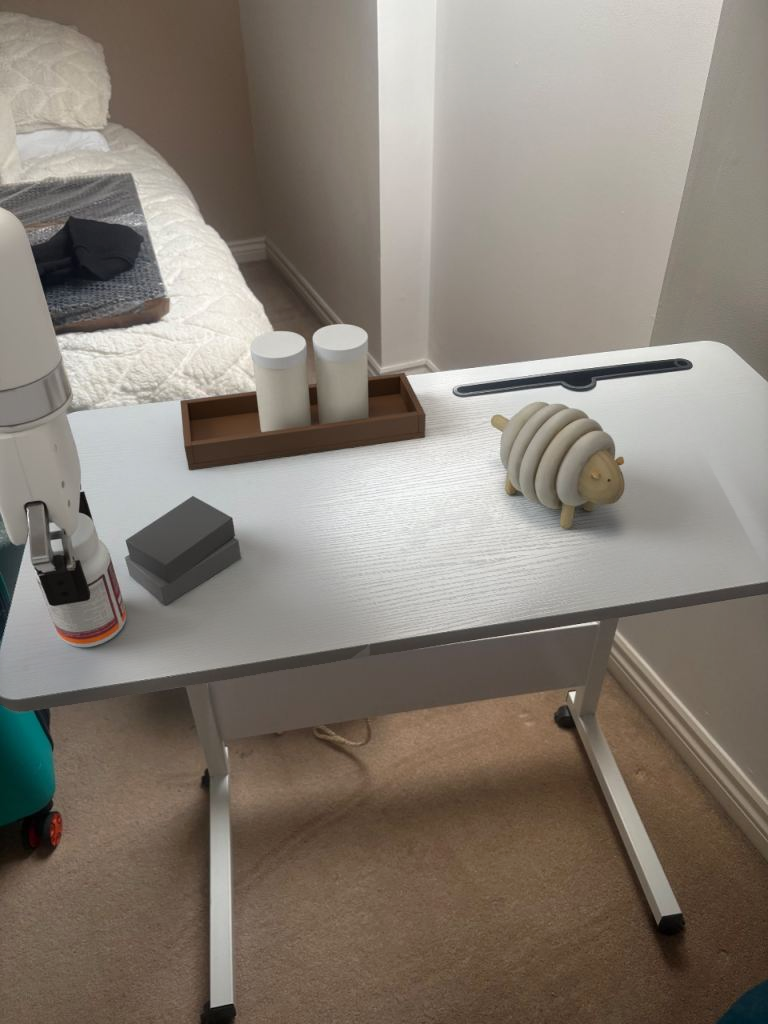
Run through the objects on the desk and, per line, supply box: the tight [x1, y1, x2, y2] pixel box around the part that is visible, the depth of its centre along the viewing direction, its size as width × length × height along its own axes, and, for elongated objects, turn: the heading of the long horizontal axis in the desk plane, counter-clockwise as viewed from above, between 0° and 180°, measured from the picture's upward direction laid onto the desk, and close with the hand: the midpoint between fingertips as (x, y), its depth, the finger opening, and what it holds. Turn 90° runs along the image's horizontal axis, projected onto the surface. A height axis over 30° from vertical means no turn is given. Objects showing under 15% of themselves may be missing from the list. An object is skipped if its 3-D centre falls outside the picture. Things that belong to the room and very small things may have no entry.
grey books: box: [124, 495, 242, 606], centre depth 80 cm, size 9×6×5 cm
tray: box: [179, 372, 426, 471], centre depth 99 cm, size 28×10×3 cm, turn 103°
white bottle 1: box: [249, 330, 311, 432], centre depth 95 cm, size 6×6×11 cm
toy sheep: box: [490, 401, 625, 530], centre depth 86 cm, size 11×17×11 cm, turn 46°
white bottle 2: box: [312, 323, 369, 424], centre depth 96 cm, size 6×6×11 cm
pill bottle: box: [33, 513, 127, 648], centre depth 72 cm, size 6×6×11 cm
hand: (73, 563), depth 71 cm, fingers open, 8 cm apart
